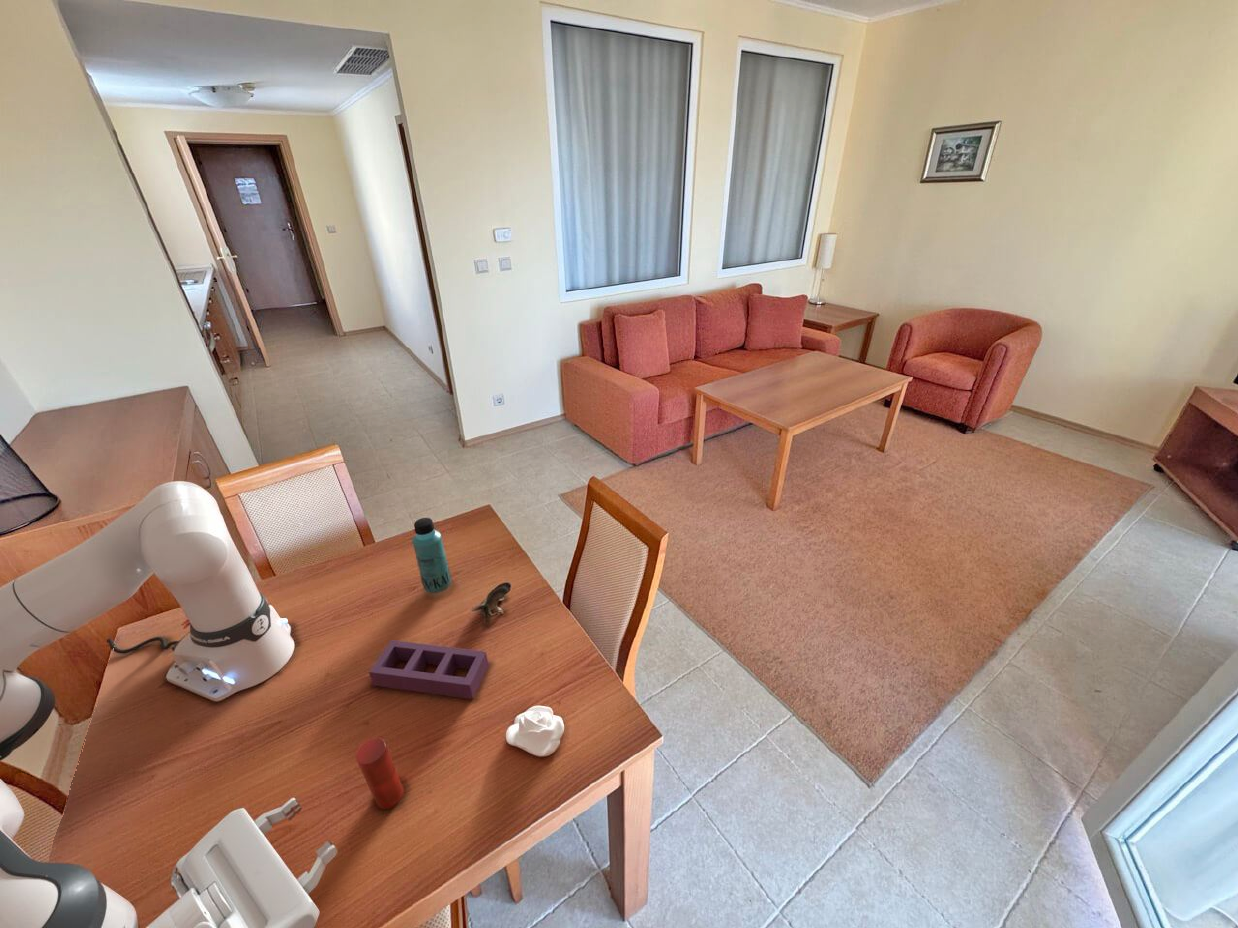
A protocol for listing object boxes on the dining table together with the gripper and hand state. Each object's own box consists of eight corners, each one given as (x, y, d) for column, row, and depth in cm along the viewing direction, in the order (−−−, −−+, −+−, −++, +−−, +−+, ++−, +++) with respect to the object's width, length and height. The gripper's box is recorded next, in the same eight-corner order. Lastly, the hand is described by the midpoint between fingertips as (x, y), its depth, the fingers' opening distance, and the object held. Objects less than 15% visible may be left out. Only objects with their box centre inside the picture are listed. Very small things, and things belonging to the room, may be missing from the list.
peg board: (373, 685, 96) (368, 671, 94) (395, 653, 103) (391, 639, 101) (473, 699, 93) (469, 685, 92) (488, 665, 100) (485, 651, 98)
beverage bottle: (425, 583, 121) (407, 516, 112) (453, 577, 123) (438, 511, 113) (424, 601, 116) (405, 532, 106) (453, 595, 118) (437, 527, 108)
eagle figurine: (510, 623, 108) (519, 589, 115) (487, 606, 105) (498, 572, 112) (485, 632, 111) (496, 598, 118) (462, 615, 108) (475, 582, 115)
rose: (508, 755, 80) (499, 704, 88) (511, 771, 82) (502, 720, 90) (568, 734, 82) (554, 687, 90) (570, 750, 85) (556, 702, 93)
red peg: (371, 806, 77) (350, 762, 71) (385, 780, 81) (366, 735, 75) (394, 811, 77) (375, 766, 71) (408, 784, 80) (390, 739, 74)
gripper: (175, 884, 65) (285, 791, 75) (245, 1011, 55) (362, 884, 65) (152, 860, 62) (271, 767, 72) (223, 990, 52) (349, 860, 62)
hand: (315, 823), depth 68 cm, fingers open, 8 cm apart
